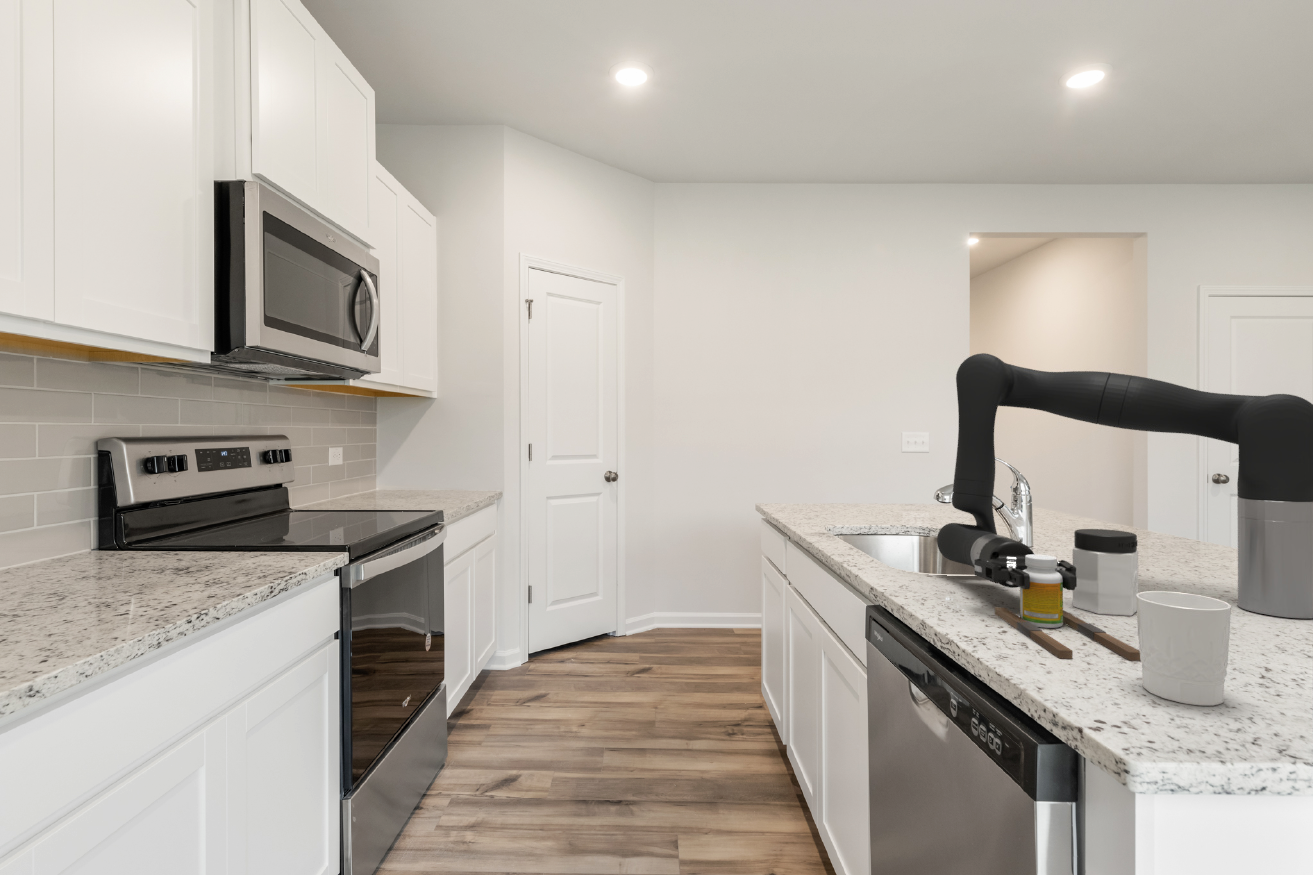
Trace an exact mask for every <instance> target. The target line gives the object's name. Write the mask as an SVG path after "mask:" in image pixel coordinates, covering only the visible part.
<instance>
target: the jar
mask: <svg viewBox="0 0 1313 875" xmlns="http://www.w3.org/2000/svg"><path fill="white" fill-rule="evenodd" d="M1073 534H1074V535H1073V536H1074V541H1073V542H1074V547H1072V565H1073V566H1074V567H1076V577H1077V587H1075V590H1072V607H1073V608H1077V609H1080V610H1083V611H1087V612H1091V613H1094V614H1097V615H1106V616H1107V615H1108V616H1109V615H1110V616H1111V615H1112V616H1124V617H1132V616H1133V615H1134V614H1135V613H1137V604H1136V594H1137V593H1139V550H1138V540H1137V539H1138V536H1137V534H1136V533H1133V532H1129V531H1124V530H1116V529H1106V528H1105V529H1102V528H1081V529H1075V530H1074V533H1073Z"/></svg>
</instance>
